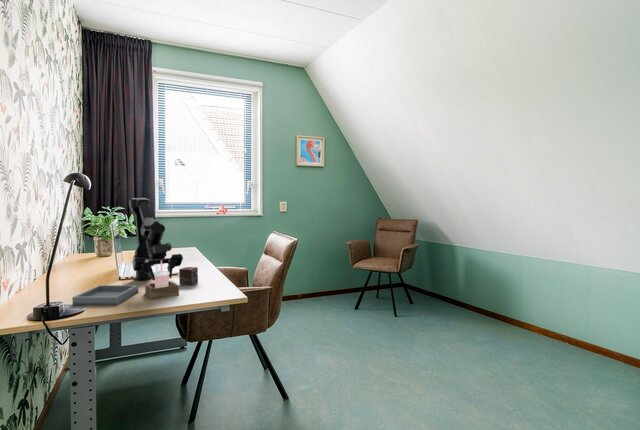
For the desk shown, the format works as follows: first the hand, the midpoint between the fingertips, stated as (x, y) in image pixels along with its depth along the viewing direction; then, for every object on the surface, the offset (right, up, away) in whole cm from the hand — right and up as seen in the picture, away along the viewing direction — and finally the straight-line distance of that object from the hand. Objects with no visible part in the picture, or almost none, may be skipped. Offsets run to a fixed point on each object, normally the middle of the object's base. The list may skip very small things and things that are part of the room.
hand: (162, 279), depth 156 cm
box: (+4, -6, +19) cm, 20 cm away
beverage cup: (-1, -7, +2) cm, 7 cm away
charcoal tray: (-20, -7, -5) cm, 21 cm away
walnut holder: (-1, -6, +1) cm, 7 cm away
